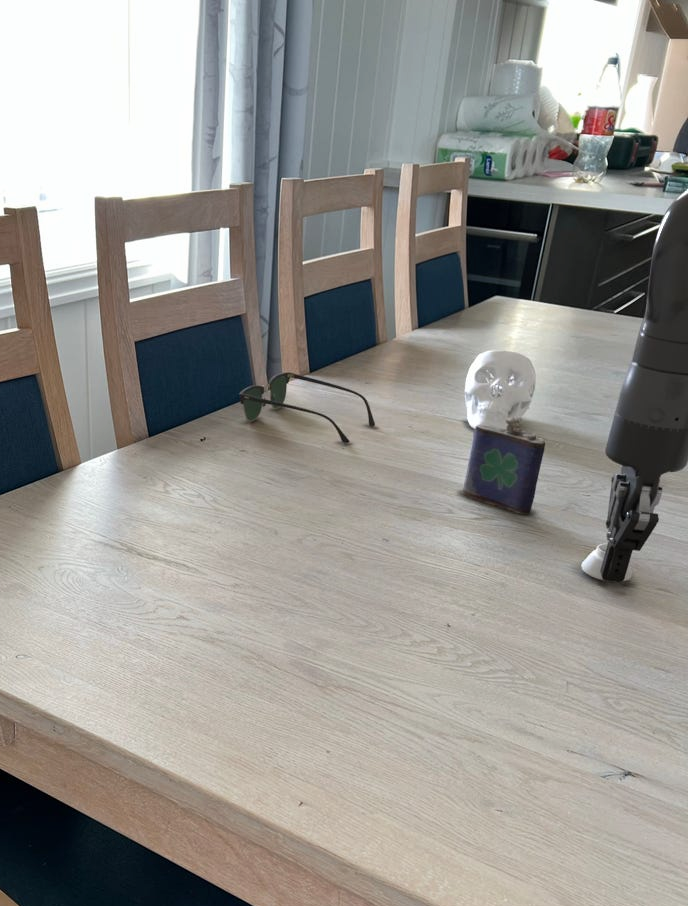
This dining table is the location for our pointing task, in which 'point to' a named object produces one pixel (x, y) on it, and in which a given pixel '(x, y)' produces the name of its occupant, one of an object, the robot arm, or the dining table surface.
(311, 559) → the dining table surface
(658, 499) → the robot arm
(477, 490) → the flask
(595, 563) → the small white bowl
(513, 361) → the skull bowl
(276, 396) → the sunglasses
